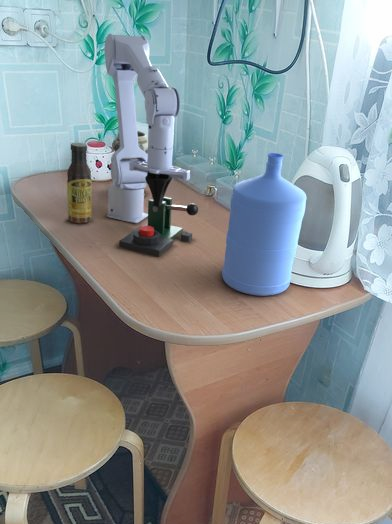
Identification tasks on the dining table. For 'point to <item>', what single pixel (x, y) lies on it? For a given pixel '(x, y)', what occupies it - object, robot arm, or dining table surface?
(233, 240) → the water jug
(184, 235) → the block
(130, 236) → the button box
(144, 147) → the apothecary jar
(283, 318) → the dining table surface
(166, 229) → the rod bracket
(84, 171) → the sauce bottle
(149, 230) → the button
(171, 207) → the rod
